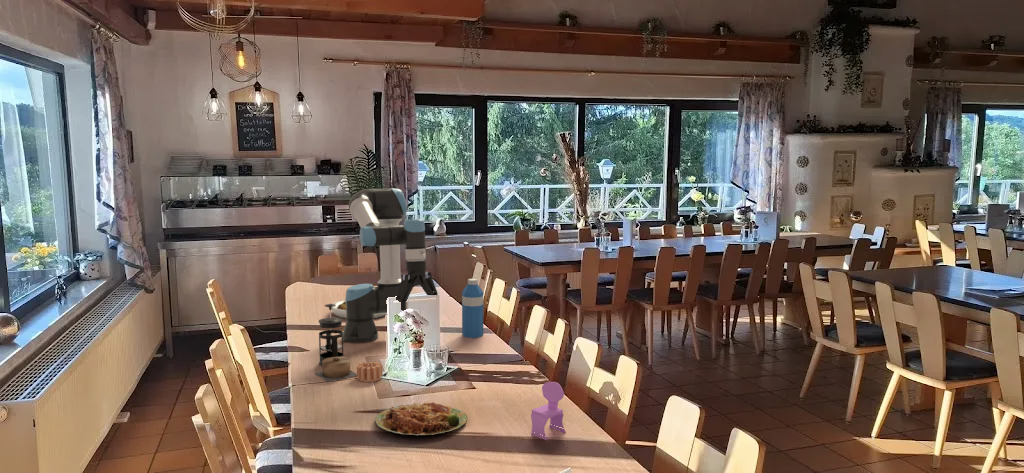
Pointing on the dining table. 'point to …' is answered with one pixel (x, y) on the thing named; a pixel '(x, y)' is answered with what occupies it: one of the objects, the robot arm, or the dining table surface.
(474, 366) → the dining table surface
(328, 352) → the french press
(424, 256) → the robot arm
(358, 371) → the orange ridged cylinder
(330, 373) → the tan squat cylinder
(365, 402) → the dining table surface
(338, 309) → the bowl
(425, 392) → the dining table surface
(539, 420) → the toy chair
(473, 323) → the water bottle
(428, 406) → the rice dish
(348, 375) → the mat
